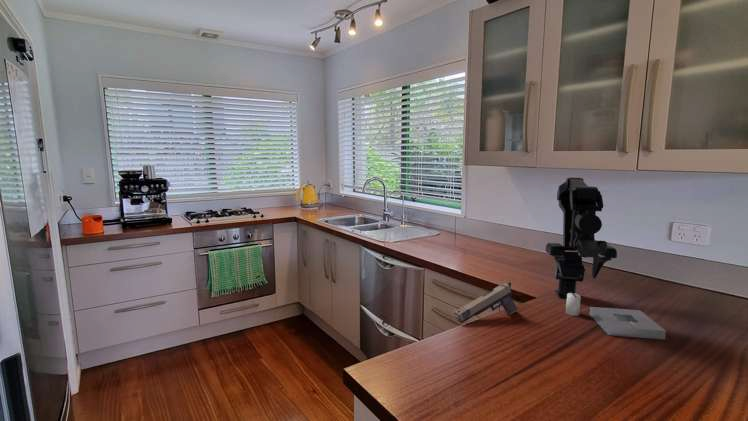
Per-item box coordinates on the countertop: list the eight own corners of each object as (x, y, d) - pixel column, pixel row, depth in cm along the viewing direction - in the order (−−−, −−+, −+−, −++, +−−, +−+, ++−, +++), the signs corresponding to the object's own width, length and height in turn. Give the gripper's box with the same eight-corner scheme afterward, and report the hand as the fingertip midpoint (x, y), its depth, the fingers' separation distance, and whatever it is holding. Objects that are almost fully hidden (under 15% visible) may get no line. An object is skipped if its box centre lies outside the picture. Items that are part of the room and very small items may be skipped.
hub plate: (589, 314, 118) (590, 306, 118) (638, 317, 116) (639, 309, 115) (608, 335, 104) (609, 325, 104) (665, 339, 102) (666, 330, 102)
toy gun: (461, 338, 115) (452, 311, 113) (514, 306, 121) (507, 279, 118) (466, 342, 113) (457, 314, 110) (519, 309, 119) (512, 282, 116)
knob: (564, 310, 121) (565, 291, 120) (576, 311, 120) (578, 292, 120) (567, 315, 117) (569, 296, 117) (581, 316, 117) (582, 296, 116)
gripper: (558, 232, 108) (554, 284, 110) (629, 234, 105) (623, 287, 107) (546, 225, 119) (543, 272, 121) (610, 226, 116) (605, 275, 118)
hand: (578, 277), depth 117 cm, fingers open, 9 cm apart
